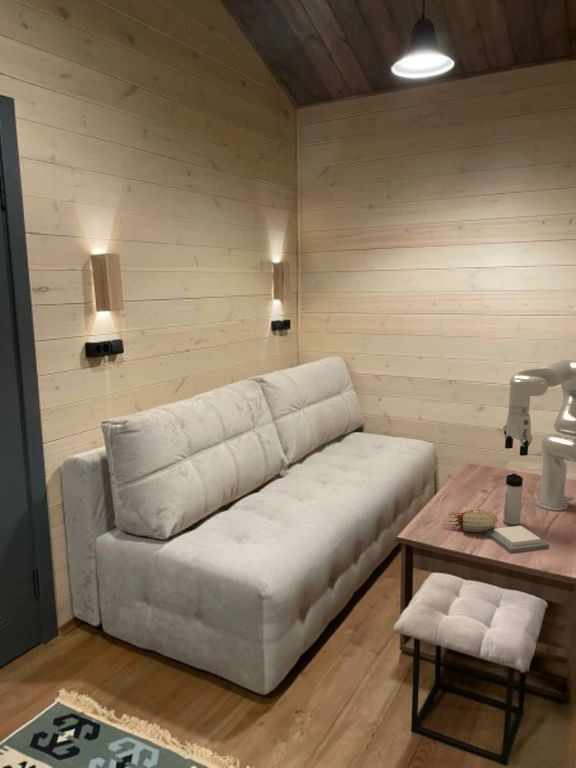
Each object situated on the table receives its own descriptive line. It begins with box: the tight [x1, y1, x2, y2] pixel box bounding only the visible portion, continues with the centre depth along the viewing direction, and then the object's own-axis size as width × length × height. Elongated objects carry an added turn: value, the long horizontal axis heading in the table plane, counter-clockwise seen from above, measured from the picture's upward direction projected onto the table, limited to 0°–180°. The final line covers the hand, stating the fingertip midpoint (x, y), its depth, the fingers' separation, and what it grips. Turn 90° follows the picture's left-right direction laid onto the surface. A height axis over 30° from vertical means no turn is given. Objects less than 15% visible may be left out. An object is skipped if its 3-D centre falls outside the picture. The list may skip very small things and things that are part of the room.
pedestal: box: [485, 525, 550, 554], centre depth 221 cm, size 16×16×3 cm
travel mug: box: [502, 473, 524, 527], centre depth 236 cm, size 6×7×20 cm
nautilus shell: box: [442, 509, 499, 533], centre depth 232 cm, size 8×22×15 cm
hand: (516, 451), depth 232 cm, fingers open, 9 cm apart
